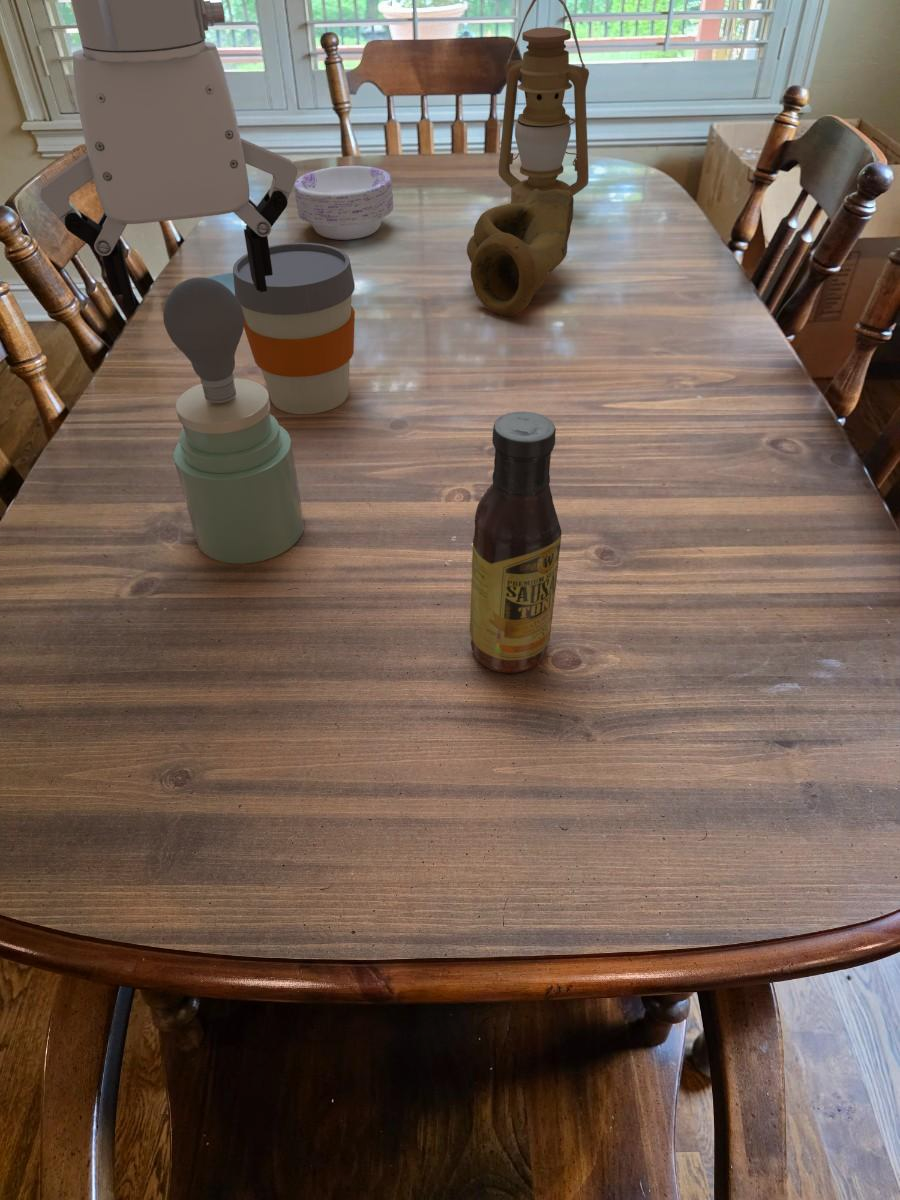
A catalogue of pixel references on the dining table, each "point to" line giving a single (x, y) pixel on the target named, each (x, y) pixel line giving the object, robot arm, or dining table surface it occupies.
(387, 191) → the paper bowls
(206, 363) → the light bulb
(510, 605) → the sauce bottle
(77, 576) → the dining table surface
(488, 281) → the brown looped sculpture
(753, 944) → the dining table surface
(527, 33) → the lantern
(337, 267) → the reusable coffee cup
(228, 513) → the green lidded jar
